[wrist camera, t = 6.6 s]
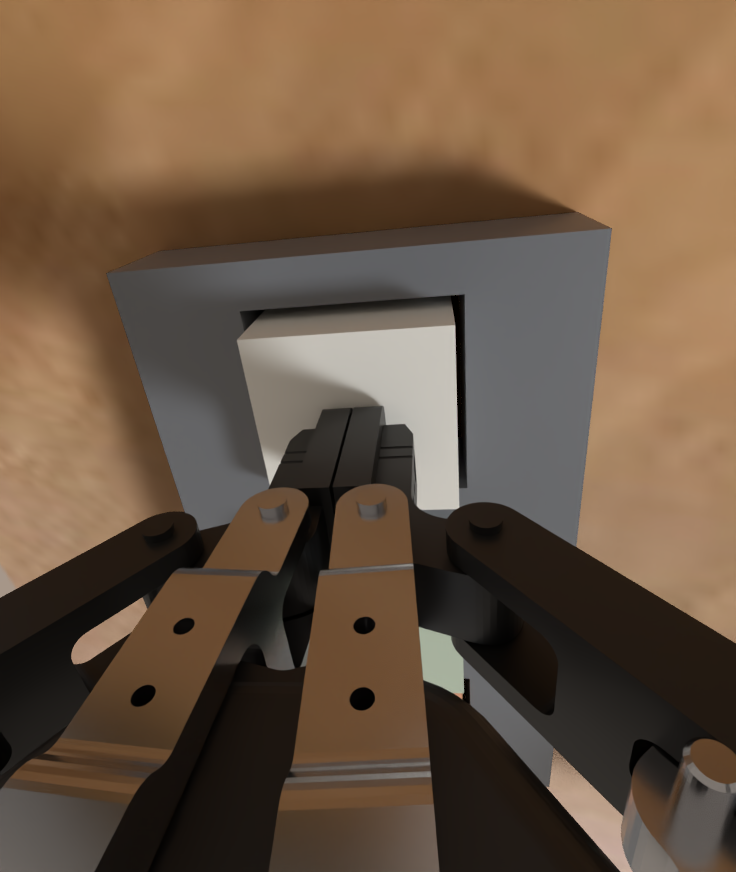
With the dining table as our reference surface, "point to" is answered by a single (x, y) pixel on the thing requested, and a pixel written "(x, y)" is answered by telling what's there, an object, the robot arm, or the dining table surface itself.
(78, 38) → the dining table surface
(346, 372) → the offwhite button
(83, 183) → the dining table surface
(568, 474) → the button panel
